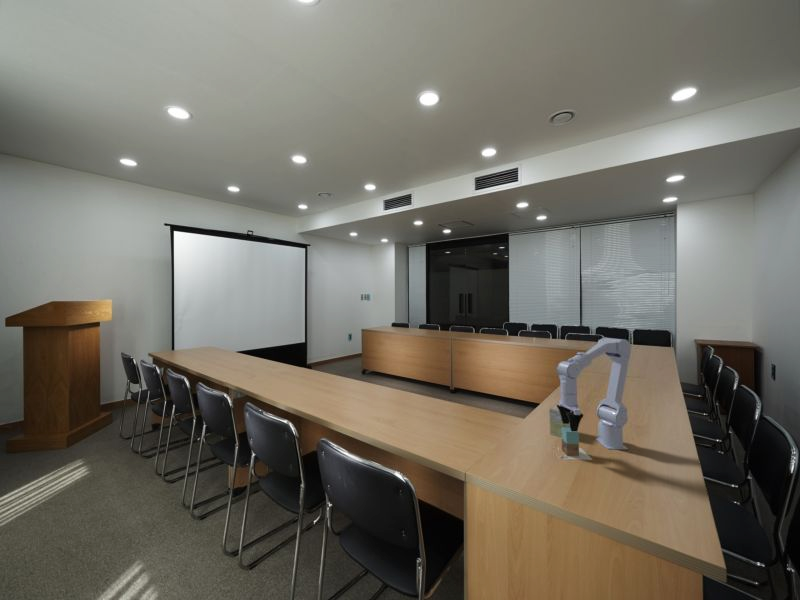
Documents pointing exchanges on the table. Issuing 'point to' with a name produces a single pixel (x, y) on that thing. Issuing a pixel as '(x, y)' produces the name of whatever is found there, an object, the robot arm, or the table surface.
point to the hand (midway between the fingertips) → (569, 427)
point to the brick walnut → (570, 449)
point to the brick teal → (570, 436)
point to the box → (556, 422)
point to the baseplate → (581, 456)
